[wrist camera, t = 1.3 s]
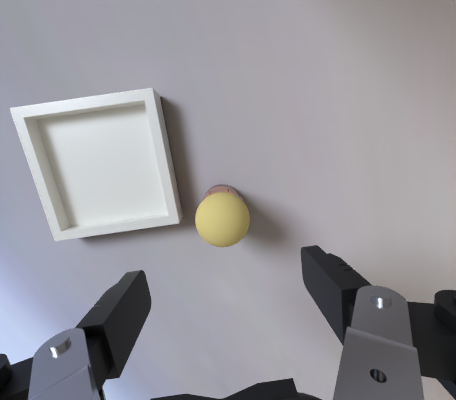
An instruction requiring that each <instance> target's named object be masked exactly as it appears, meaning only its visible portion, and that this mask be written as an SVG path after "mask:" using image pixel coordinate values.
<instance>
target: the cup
mask: <svg viewBox="0 0 456 400" xmlns="http://www.w3.org/2000/svg"><path fill="white" fill-rule="evenodd" d="M219 192H227V193H231V194H234V195H236V196H237V197H239V198H240V199H241V200H242V201H243V199H242V197H240V195H239V193H238V192H237V191H236V190H235V189H234V188H233V187H231V186H229V185H223V184H221V185H216V186H214V187H212V188H210V189H209V190H208V191H207V193H206V194H205V196H204V199H205V198H207V197H208V196H210V195H212V194H214V193H219ZM204 199H203V200H204ZM243 202H244V201H243ZM200 204H201V203H200Z"/></svg>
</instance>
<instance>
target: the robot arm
mask: <svg viewBox="0 0 456 400" xmlns="http://www.w3.org/2000/svg"><path fill="white" fill-rule="evenodd" d="M301 261H302V274H303V280H304V284H305V286H306V288H307V290H308V292H309V293H310V295H311V296H312V298H313V299H314V301H315V303H316V304H317V306H318V307H319V309H320V310H321V312H322V314H323V315H324V317H325V318H326V320H327V321H328V323H329V325H330V326H331V328H332V329H333V331H334V332H335V334H336V335H337V337H338V339H339V340H340V342H341V343H342V345H343V350H342V355H341V360H340V365H339V371H338V376H337V381H336V386H335V391H334V396H333V400H424V394H423V387H422V380H421V376H425V377H431V378H436V379H437V380H438V381H439V382H440V383H441V384H442V385H443V386H444V388H445V389H446V390H447V391H448V392H449V393H450V394H451V395H452V397H453V398H454V399H455V400H456V290H442V291H439V292H437V293H436V294H435V299H434V304H430V303H417V302H407V301H406V299H405V298H404V297H403V296H402V295H400V294H399V293H397V292H395V291H394V290H391V289H389V288H386V287H382V286H374V285H371V284H370V283H369V282H368V281H367V280H365V279H364V278H363V277H362V276H361V275H360V274H359V273H357V272H356V271H355V270H353V268H352V267H350V266H349V265H347V263H346V262H345V261H343V260H342V259H341V258H340V257H337V256H335V255H333V254H331V253H329V254H326V253H325V252H324V251H323V250H322V249H321V248H320V247H319V246H317V245H315V246H308V247H302V248H301ZM150 309H151V296H150V292H149V288H148V284H147V280H146V275H145V273H144V271H143V270H140V271H133V272H127V273H126V274H125V275H124V276H123V277H122V278H121V280H120V281H119V282H118V283H117V284H115V285H114V286H113V287H111V288H110V289H108V290H107V291H106V292H105V293H104V294H103V295H102V297H101V298H100V300H99V301H97V303H96V304H95V305H94V307H92V308H91V310H90V311H89V312H88V313H87V314H86V316H85V317H84V318H83V319H82V320H81V321H80V323H79V324H78V325H77V326H76V327H75V328H73V329H69V330H66V331H63V332H61V333H59V334H57V335H55V336H54V337H52V338H51V339H49V340H48V341H47V342H45V343H44V344H43V345H42V346H41V347H40V348H39V349H38V350H37V352H36V353H35V355H34V357H32V358H29V359H26V360H24V361H21V362H18V363H15V364H13V365H10V362H9V360H8V358H7V356H6V355H5V354H0V400H106V398H105V394H104V390H103V387H102V386H103V384H104V382H105V380H107V379H114V378H119V377H120V375H121V373H122V371H123V369H124V366H125V364H126V362H127V360H128V358H129V355H130V353H131V351H132V349H133V347H134V345H135V342H136V340H137V338H138V336H139V334H140V331H141V329H142V327H143V325H144V323H145V321H146V318H147V316H148V314H149V312H150ZM151 400H322V399H319V398H317V397H314V396H312V395H308V394H305V393H299V392H297V390H296V387H295V384H294V381H293V378H290V379H284V380H277V381H270V382H263V383H257V384H255V385H253V386H251V387H248V388H246V389H244V390H242V391H239V392H237V393H235V394H233V395H231V396H228V397H226V398H223V399H216V398H210V397H203V396H197V395H190V394H181V395H174V396H167V397H160V398H153V399H151Z"/></svg>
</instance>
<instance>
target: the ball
mask: <svg viewBox="0 0 456 400" xmlns="http://www.w3.org/2000/svg"><path fill="white" fill-rule="evenodd" d="M195 223H196V228H197V230H198V233H199V234H200V236H201V237H202V238H203V239H204V240H205V241H206V242H207V243H209V244H211V245H213V246H217V247H228V246H232V245H234V244H236V243H238V242H239V241H240V240H241V239H242V238H243V237H244V236H245V235H246V233H247V231H248V228H249V224H250V215H249V211H248V208H247V206H246V205H245V203H244V202H243V201H242V200H241V199H240V198H239V197H237V196H236V195H234V194H231V193H227V192H219V193H214V194H212V195H210V196H208V197H207V198H205V199H204V200H203V201H202V202H201V204H200V205H199V207H198V209H197V212H196V217H195Z"/></svg>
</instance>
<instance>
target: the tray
mask: <svg viewBox="0 0 456 400" xmlns="http://www.w3.org/2000/svg"><path fill="white" fill-rule="evenodd" d="M10 111H11V114H12V117H13V120H14V123H15V126H16V129H17V132H18V134H19V137H20V140H21V143H22V146H23V149H24V152H25V155H26V158H27V161H28V164H29V167H30V170H31V173H32V176H33V179H34V182H35V184H36V187H37V190H38V193H39V196H40V199H41V202H42V205H43V208H44V211H45V214H46V217H47V220H48V223H49V226H50V229H51V232H52V234H53V237H54V240H55V241H60V240H67V239H74V238H81V237H88V236H95V235H102V234H109V233H116V232H123V231H130V230H137V229H144V228H150V227H157V226H164V225H171V224H178V223H180V221H181V220H182V218H183V213H182V208H181V203H180V198H179V193H178V188H177V183H176V177H175V172H174V167H173V162H172V157H171V152H170V147H169V141H168V136H167V131H166V126H165V121H164V116H163V111H162V105H161V100H160V95H159V94H158V93H157V92H156V91H155V90H154V89H153V88H146V89H139V90H132V91H125V92H118V93H112V94H105V95H98V96H91V97H84V98H77V99H70V100H63V101H56V102H49V103H42V104H35V105H28V106H21V107H14V108H10Z"/></svg>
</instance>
